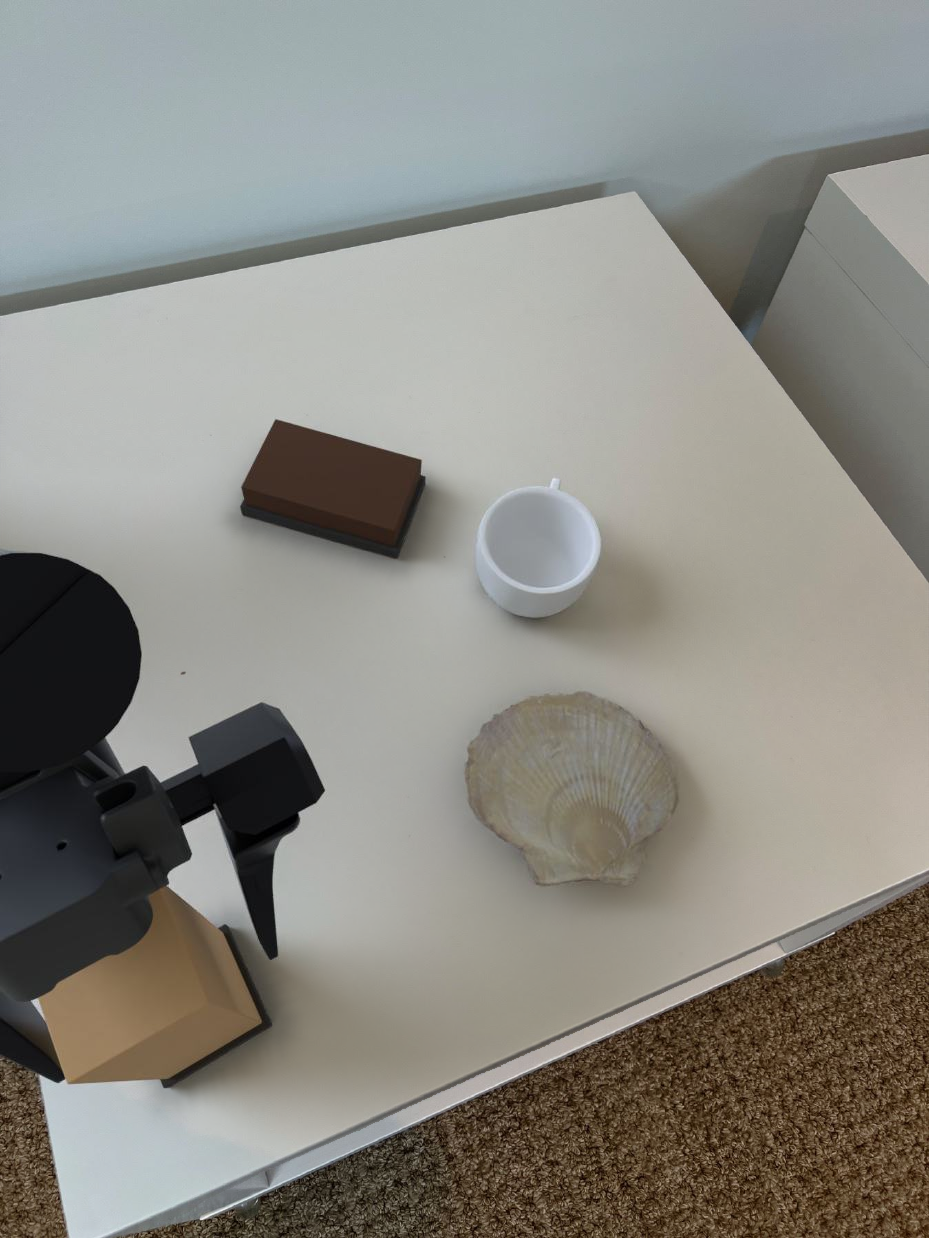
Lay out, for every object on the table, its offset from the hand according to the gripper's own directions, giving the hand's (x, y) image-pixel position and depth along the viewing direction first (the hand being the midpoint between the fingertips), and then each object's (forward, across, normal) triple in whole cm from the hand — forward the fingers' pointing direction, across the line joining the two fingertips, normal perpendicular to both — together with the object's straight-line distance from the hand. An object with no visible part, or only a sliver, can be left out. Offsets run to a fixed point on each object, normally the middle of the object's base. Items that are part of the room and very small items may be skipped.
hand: (171, 1011), depth 37 cm
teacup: (-4, +29, +17) cm, 34 cm away
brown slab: (-12, +20, +24) cm, 34 cm away
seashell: (+6, +23, +7) cm, 24 cm away
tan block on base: (+5, 0, +7) cm, 9 cm away
